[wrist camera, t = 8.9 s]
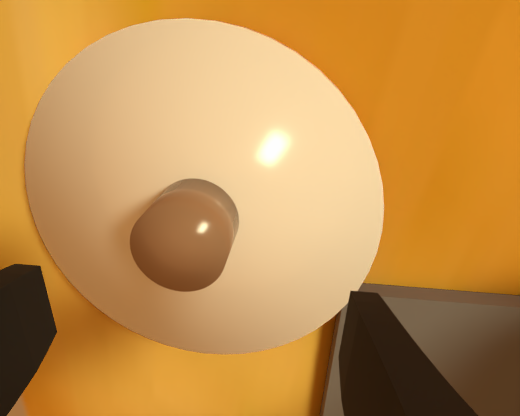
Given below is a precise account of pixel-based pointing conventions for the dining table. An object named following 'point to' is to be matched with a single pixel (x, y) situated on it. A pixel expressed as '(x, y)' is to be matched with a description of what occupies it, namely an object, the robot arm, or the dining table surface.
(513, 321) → the mat
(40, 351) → the robot arm
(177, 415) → the dining table surface
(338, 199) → the lid
